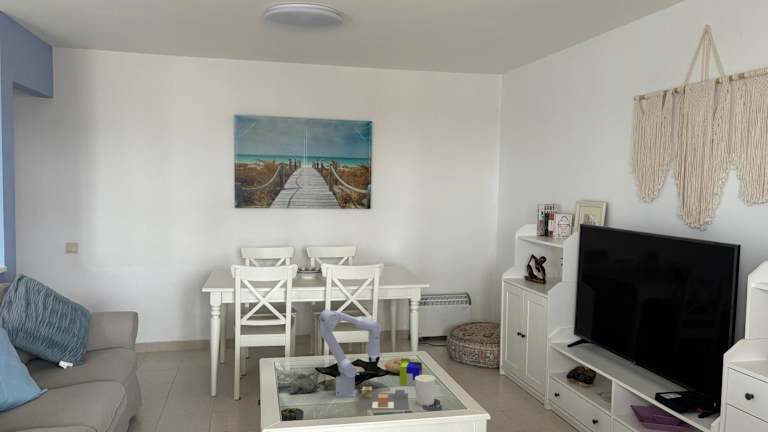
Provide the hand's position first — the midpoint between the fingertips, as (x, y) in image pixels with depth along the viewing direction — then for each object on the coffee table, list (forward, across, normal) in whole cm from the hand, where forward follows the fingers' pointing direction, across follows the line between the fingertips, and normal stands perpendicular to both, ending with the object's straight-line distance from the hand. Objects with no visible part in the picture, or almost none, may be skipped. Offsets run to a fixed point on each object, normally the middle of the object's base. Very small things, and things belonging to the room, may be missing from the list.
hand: (374, 371), depth 294 cm
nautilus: (+10, +30, -15) cm, 35 cm away
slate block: (+9, -12, -13) cm, 20 cm away
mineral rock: (+10, -5, +35) cm, 37 cm away
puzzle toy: (+10, +11, -19) cm, 24 cm away
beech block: (+9, -12, +3) cm, 15 cm away
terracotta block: (+9, -23, -5) cm, 25 cm away
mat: (+9, -17, -5) cm, 20 cm away
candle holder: (+10, -18, -25) cm, 32 cm away
